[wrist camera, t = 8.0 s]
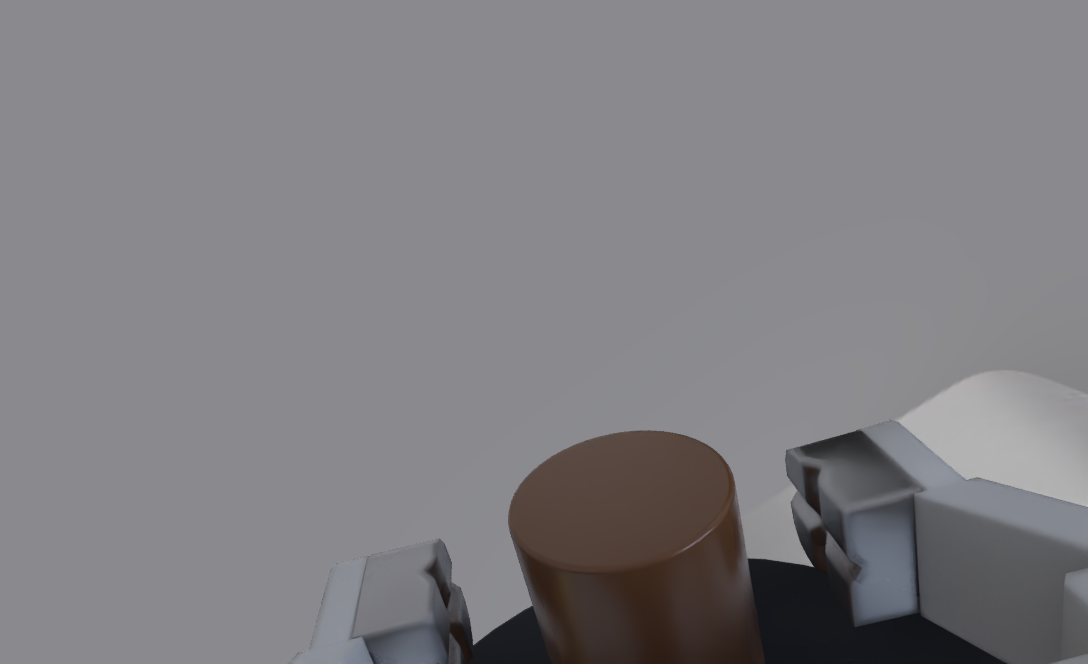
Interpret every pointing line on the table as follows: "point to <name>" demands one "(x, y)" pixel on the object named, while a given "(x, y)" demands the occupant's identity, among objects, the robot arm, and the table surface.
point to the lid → (674, 573)
